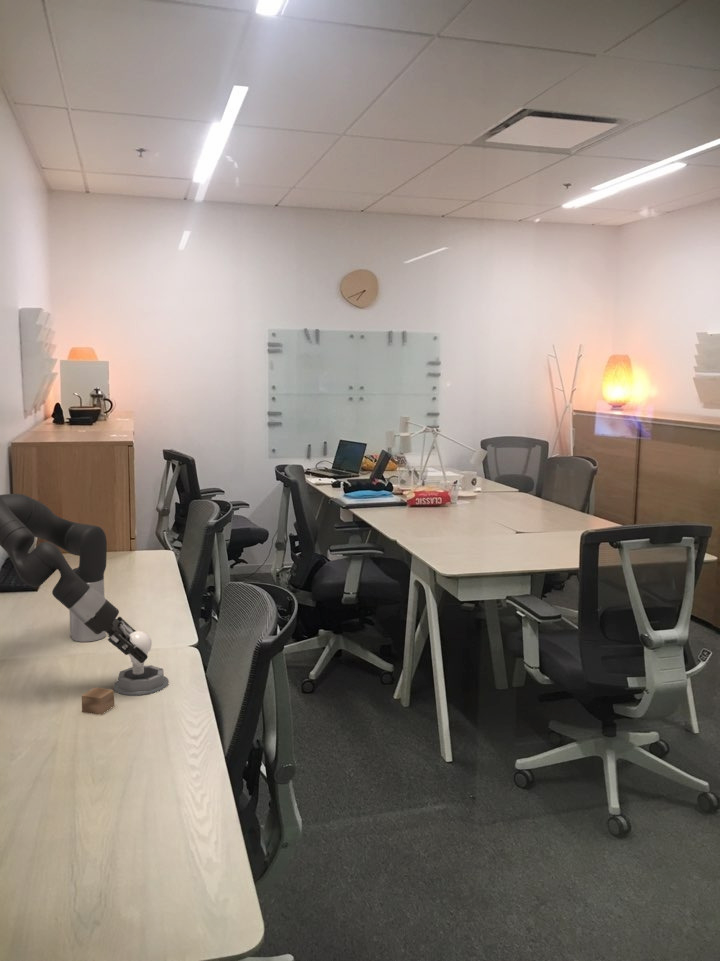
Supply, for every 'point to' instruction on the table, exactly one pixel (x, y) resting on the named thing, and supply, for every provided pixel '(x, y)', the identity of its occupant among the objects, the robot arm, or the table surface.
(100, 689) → the walnut block
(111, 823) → the table surface
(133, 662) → the lightbulb
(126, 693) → the socket collar
